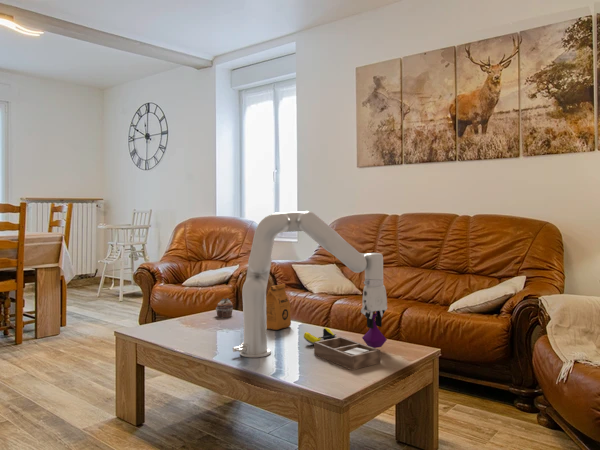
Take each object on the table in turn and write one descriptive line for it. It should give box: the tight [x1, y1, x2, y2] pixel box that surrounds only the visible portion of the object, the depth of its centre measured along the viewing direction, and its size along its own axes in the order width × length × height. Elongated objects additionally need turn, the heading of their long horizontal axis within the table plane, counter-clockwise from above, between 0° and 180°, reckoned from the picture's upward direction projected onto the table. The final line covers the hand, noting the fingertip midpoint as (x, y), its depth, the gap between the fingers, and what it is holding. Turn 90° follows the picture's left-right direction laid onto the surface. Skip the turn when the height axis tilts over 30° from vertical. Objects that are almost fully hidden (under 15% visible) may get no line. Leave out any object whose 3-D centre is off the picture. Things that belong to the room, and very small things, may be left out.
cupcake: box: [215, 297, 234, 318], centre depth 269 cm, size 10×10×10 cm
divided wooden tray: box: [313, 336, 381, 371], centre depth 187 cm, size 14×24×5 cm, turn 33°
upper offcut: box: [344, 348, 369, 355], centre depth 182 cm, size 8×6×2 cm
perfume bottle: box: [361, 311, 388, 349], centre depth 196 cm, size 8×8×18 cm
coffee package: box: [266, 283, 292, 331], centre depth 238 cm, size 10×12×22 cm
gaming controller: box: [303, 327, 338, 345], centre depth 209 cm, size 15×6×10 cm
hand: (374, 326), depth 196 cm, fingers closed on perfume bottle, 3 cm apart
